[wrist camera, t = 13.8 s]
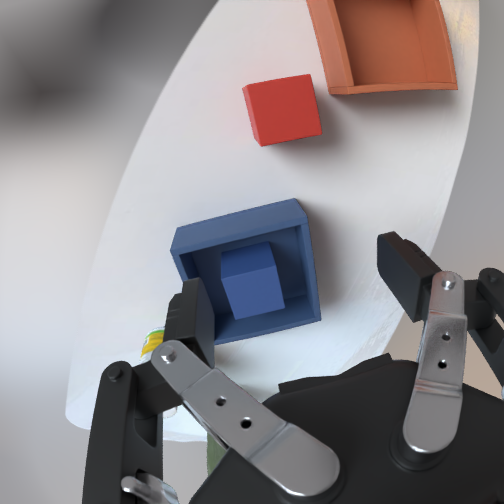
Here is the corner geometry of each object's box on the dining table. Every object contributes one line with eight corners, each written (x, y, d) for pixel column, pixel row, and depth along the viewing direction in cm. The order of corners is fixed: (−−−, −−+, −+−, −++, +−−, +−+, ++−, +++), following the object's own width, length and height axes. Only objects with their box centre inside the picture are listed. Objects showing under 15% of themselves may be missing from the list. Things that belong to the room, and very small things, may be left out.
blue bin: (176, 227, 28) (169, 250, 24) (294, 197, 27) (307, 216, 24) (211, 317, 33) (211, 346, 29) (310, 293, 33) (321, 320, 29)
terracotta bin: (300, -18, 18) (314, -37, 14) (406, -13, 17) (431, -24, 13) (328, 94, 23) (348, 94, 19) (429, 87, 23) (458, 90, 19)
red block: (242, 87, 22) (246, 85, 18) (295, 77, 22) (310, 73, 18) (254, 139, 25) (261, 147, 21) (306, 128, 24) (322, 134, 20)
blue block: (221, 252, 29) (221, 279, 25) (268, 240, 29) (276, 265, 25) (233, 290, 31) (235, 320, 27) (277, 279, 31) (285, 308, 27)
